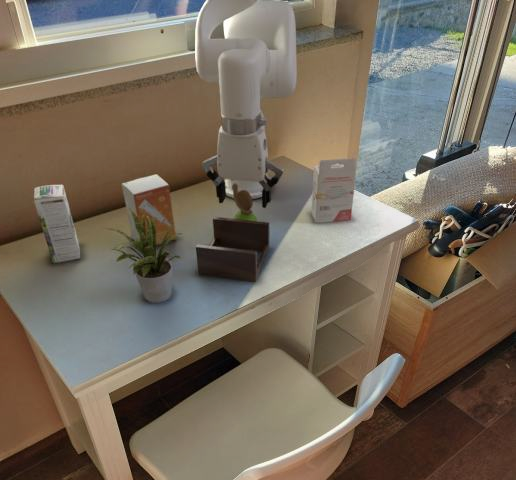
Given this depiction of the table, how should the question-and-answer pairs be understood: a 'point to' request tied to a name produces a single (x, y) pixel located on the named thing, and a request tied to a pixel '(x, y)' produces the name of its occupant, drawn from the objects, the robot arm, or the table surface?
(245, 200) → the snail figurine
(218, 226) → the frame
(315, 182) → the ink cartridge box
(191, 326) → the table surface
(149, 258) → the house plant
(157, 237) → the small box
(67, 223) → the syrup box
